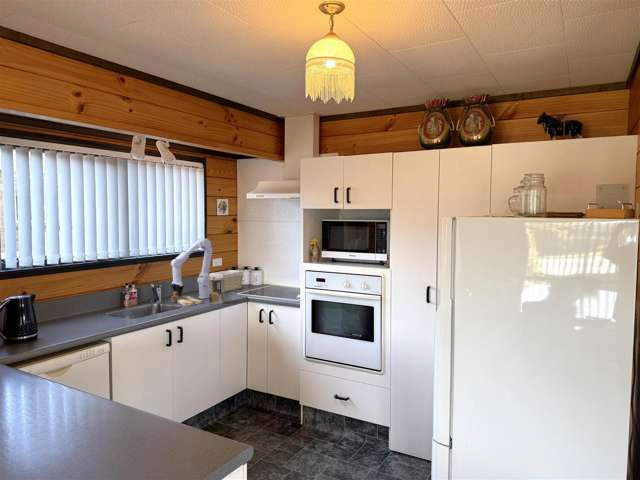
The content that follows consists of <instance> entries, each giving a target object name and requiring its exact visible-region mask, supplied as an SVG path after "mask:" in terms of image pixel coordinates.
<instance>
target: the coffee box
mask: <svg viewBox="0 0 640 480" xmlns="http://www.w3.org/2000/svg"><path fill="white" fill-rule="evenodd" d="M208 283H209V298H208V299H209V304H210V305H223V304H225V302H226V300H225V292H224V280H210V281H209V282H208Z"/></svg>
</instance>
